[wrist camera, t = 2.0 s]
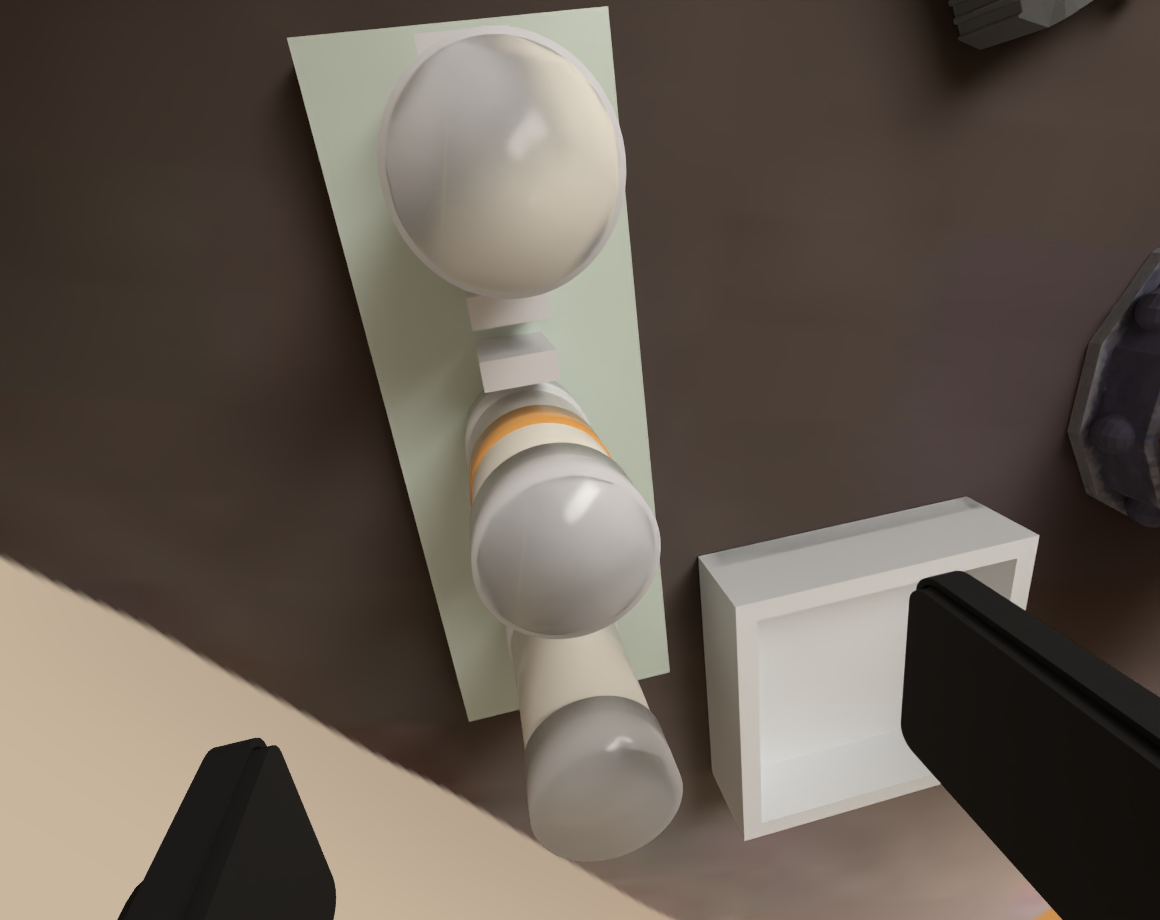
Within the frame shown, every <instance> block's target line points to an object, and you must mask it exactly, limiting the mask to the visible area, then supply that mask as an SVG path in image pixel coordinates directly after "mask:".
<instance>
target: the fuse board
mask: <svg viewBox="0 0 1160 920" xmlns="http://www.w3.org/2000/svg"><path fill="white" fill-rule="evenodd" d="M494 25H502V26H509V27H517V28H521V29H524V30H528V31H531V32H535V33H537V34H539V35H541V36H544V37H546V38H548V39H550V40H552V41H554V42H555V43H557V44H558V45H560V46H562V47H563V48H565V49H566V50H568V51H569V52H570V53H571V54H572V55H573V56H575V57H576V58H577V59H578V60H579V61H581V63H582V64H583V65H584V66H585V67H586V68H587V69H588V70H589V71H590V72H591V73H592V75H593V76H594V77H595V79H596V80H597V82H598V83H599V84H600V86H601V87H602V89H603V90H604V92H605V94H606V96H607V98H608V99H609V101H610V103H611V105H612V107H613V110H614V112H615V115H616V117H617V120H618V109H617V98H616V87H615V77H614V66H613V55H612V44H611V34H610V23H609V12H608V6H606V7H596V8H585V9H575V10H565V11H555V12H545V13H535V14H525V15H514V16H504V17H494V18H484V19H474V20H464V21H453V22H443V23H433V24H423V25H413V26H403V27H393V28H382V29H372V30H362V31H352V32H342V33H332V34H321V35H311V36H301V37H291V38H287V40H288V44H289V48H290V52H291V55H292V59H293V63H294V67H295V70H296V74H297V78H298V82H299V85H300V89H301V93H302V97H303V100H304V104H305V108H306V112H307V115H308V119H309V123H310V127H311V130H312V134H313V138H314V142H315V145H316V149H317V153H318V157H319V160H320V164H321V168H322V172H323V175H324V179H325V183H326V187H327V191H328V194H329V198H330V202H331V206H332V209H333V213H334V217H335V221H336V224H337V228H338V232H339V236H340V239H341V243H342V247H343V251H344V254H345V258H346V262H347V266H348V269H349V273H350V277H351V281H352V284H353V288H354V292H355V296H356V299H357V303H358V307H359V311H360V314H361V318H362V322H363V326H364V329H365V333H366V337H367V341H368V345H369V348H370V352H371V356H372V360H373V363H374V367H375V371H376V375H377V378H378V382H379V386H380V390H381V393H382V397H383V401H384V405H385V408H386V412H387V416H388V420H389V423H390V427H391V431H392V435H393V438H394V442H395V446H396V450H397V453H398V457H399V461H400V465H401V468H402V472H403V476H404V480H405V483H406V487H407V491H408V495H409V498H410V502H411V506H412V510H413V514H414V517H415V521H416V525H417V529H418V532H419V536H420V540H421V544H422V547H423V551H424V555H425V559H426V562H427V566H428V570H429V574H430V577H431V581H432V585H433V589H434V592H435V596H436V600H437V604H438V607H439V611H440V615H441V619H442V622H443V626H444V630H445V634H446V637H447V641H448V645H449V649H450V652H451V656H452V660H453V664H454V668H455V671H456V675H457V679H458V683H459V686H460V690H461V694H462V698H463V701H464V705H465V709H466V713H467V716H468V720H469V722H471V721H475V720H479V719H483V718H487V717H491V716H495V715H499V714H503V713H507V712H511V711H515V710H519V702H518V695H517V687H516V680H515V673H514V665H513V663H512V661H511V659H510V655H509V651H508V643H507V636H506V628H505V624H503V623H502V622H501V621H499V620H498V619H497V618H496V617H495V616H494V615H493V614H492V613H491V612H490V611H489V610H488V609H487V607H486V606H485V605H484V603H483V602H482V600H481V598H480V596H479V594H478V592H477V590H476V587H475V584H474V581H473V575H472V566H471V547H470V515H471V509H472V508H471V501H470V489H469V468H468V464H467V460H466V452H465V423H466V418H467V415H468V412H469V410H470V408H471V406H472V404H473V402H474V401H475V399H476V398H477V397H478V396H479V394H480V393H481V392H482V391H485V393H488V392H494V391H499V390H505V389H511V388H516V387H522V386H527V385H533V384H539V383H544V382H550V381H555V382H557V383H559V384H560V385H561V386H563V387H564V388H565V389H566V390H567V391H568V392H569V393H570V394H571V395H572V396H573V398H574V399H575V401H576V402H577V403H578V405H579V406H580V408H581V409H582V411H583V412H584V414H585V415H586V417H587V419H588V421H589V423H590V426H591V427H592V429H593V430H594V431H595V433H596V434H597V436H598V437H599V439H600V440H601V442H602V443H603V445H604V446H605V447H606V449H607V450H608V452H609V454H610V456H611V457H612V459H613V460H614V461H615V462H616V463H617V464H618V465H619V466H620V467H621V468H622V469H623V470H624V472H625V473H626V475H627V476H628V477H629V479H630V480H631V482H632V483H633V485H634V486H635V487H636V489H637V490H638V492H639V493H640V495H641V496H642V498H643V499H644V500H645V502H646V503H647V505H648V506H649V508H650V509H651V511H652V513H653V515H654V517H655V507H654V496H653V485H652V475H651V464H650V453H649V442H648V432H647V421H646V410H645V399H644V389H643V378H642V367H641V356H640V346H639V335H638V324H637V313H636V302H635V292H634V281H633V270H632V259H631V249H630V238H629V227H628V216H627V206H626V195H625V193H624V198H623V203H622V207H621V211H620V214H619V217H618V220H617V223H616V225H615V227H614V229H613V231H612V234H611V236H610V238H609V239H608V241H607V243H606V244H605V246H604V247H603V249H602V251H601V252H600V253H599V254H598V256H597V257H596V258H595V259H594V261H593V262H592V263H591V264H590V265H589V266H588V267H587V268H586V269H585V270H584V271H582V272H581V273H580V274H579V275H578V276H576V277H575V278H573V279H572V280H571V281H569V282H568V283H566V284H564V285H562V286H560V287H559V288H557V289H555V290H552V291H549V292H547V293H544V294H541V295H537V296H533V297H528V298H520V299H497V298H491V297H485V296H481V295H477V294H474V293H471V292H468V291H465V290H463V289H461V288H459V287H457V286H455V285H453V284H451V283H449V282H448V281H446V280H445V279H443V278H441V277H440V276H438V275H437V274H436V273H435V272H433V271H432V270H431V269H430V268H428V267H427V266H426V265H425V264H424V263H423V262H422V261H421V260H420V259H419V258H418V257H417V256H416V255H415V254H414V253H413V251H412V250H411V249H410V247H409V246H408V245H407V243H406V242H405V241H404V239H403V238H402V236H401V234H400V233H399V231H398V229H397V227H396V226H395V224H394V222H393V220H392V217H391V215H390V213H389V210H388V208H387V206H386V202H385V199H384V195H383V192H382V189H381V183H380V177H379V171H378V139H379V131H380V126H381V121H382V116H383V113H384V110H385V107H386V104H387V101H388V99H389V96H390V94H391V92H392V91H393V89H394V87H395V85H396V83H397V81H398V80H399V78H400V77H401V75H402V74H403V73H404V71H405V70H406V68H407V67H408V66H409V65H410V64H411V63H412V62H413V61H414V60H415V58H416V57H417V56H418V55H419V54H420V53H422V52H423V51H424V50H426V49H427V48H428V47H430V46H431V45H432V44H433V43H435V42H437V41H439V40H441V39H442V38H444V37H446V36H448V35H450V34H453V33H456V32H458V31H461V30H464V29H468V28H473V27H479V26H494ZM618 123H619V120H618ZM655 519H656V518H655ZM617 624H618V633H619V635H620V638H621V640H622V643H623V645H624V648H625V650H626V653H627V655H628V657H629V660H630V662H631V665H632V667H633V670H634V672H635V675H636V677H637V680H640V679H644V678H648V677H652V676H656V675H660V674H664V673H668V672H670V668H669V657H668V647H667V636H666V625H665V614H664V604H663V593H662V582H661V571H660V561H659V564H658V568H657V571H656V574H655V576H654V579H653V581H652V583H651V585H650V587H649V588H648V590H647V592H646V593H645V594H644V596H643V597H642V599H641V600H640V601H639V602H638V603H637V604H636V605H635V606H634V608H633V609H632V610H630V611H629V612H628V613H627V614H626V615H625V616H623V617H622V618H620V619H619V620H618V621H617Z"/></svg>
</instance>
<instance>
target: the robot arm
mask: <svg viewBox="0 0 1160 920" xmlns="http://www.w3.org/2000/svg"><path fill="white" fill-rule="evenodd" d="M901 730H902V734H903V737H904V739H905V741H906V743H907V745H908V747H909V748H910V749H911V751H912V752H913V753H914V754H915V755H916V756H917V757H918V759H919V760H920V761H921V762H922V763H923V764H924V765H925V766H926V768H927V769H928V770H929V771H930V772H931V773H932V774H933V775H934V776H935V778H936V779H937V780H938V781H939V782H940V783H941V784H942V785H943V787H944V788H945V789H946V790H947V791H948V792H949V793H950V794H951V795H952V797H953V798H954V799H955V800H956V801H957V802H958V803H959V804H960V806H961V807H962V808H963V809H964V810H965V811H966V812H967V813H968V814H969V816H970V817H971V818H972V819H973V820H974V821H975V822H976V823H977V825H978V826H979V827H980V828H981V829H982V830H983V831H984V832H985V834H986V835H987V836H988V837H989V838H990V839H991V840H992V841H993V842H994V844H995V845H996V846H997V847H998V848H999V849H1000V850H1001V851H1002V853H1003V854H1004V855H1005V856H1006V857H1007V858H1008V859H1009V860H1010V861H1011V863H1012V864H1013V865H1014V866H1015V867H1016V868H1017V869H1018V870H1019V872H1020V873H1021V874H1022V875H1023V876H1024V877H1025V878H1026V879H1027V881H1028V882H1029V883H1030V884H1031V885H1032V886H1033V887H1034V888H1035V889H1036V891H1037V892H1038V893H1039V894H1040V895H1041V896H1042V897H1043V898H1044V900H1045V901H1046V902H1047V903H1048V904H1049V905H1050V906H1051V907H1052V908H1053V910H1054V911H1055V912H1056V913H1057V914H1058V915H1059V916H1060V917H1061V918H1062V920H1160V697H1158V696H1157V695H1155V694H1153V693H1152V692H1150V691H1149V690H1147V689H1146V688H1144V687H1143V686H1141V685H1140V684H1138V683H1136V682H1135V681H1133V680H1132V679H1130V678H1129V677H1127V676H1126V675H1124V674H1123V673H1121V672H1119V671H1118V670H1116V669H1115V668H1113V667H1112V666H1110V665H1109V664H1107V663H1106V662H1104V661H1102V660H1101V659H1099V658H1098V657H1096V656H1095V655H1093V654H1092V653H1090V652H1089V651H1087V650H1085V649H1084V648H1082V647H1081V646H1079V645H1078V644H1076V643H1075V642H1073V641H1072V640H1070V639H1068V638H1067V637H1065V636H1064V635H1062V634H1061V633H1059V632H1058V631H1056V630H1055V629H1053V628H1051V627H1050V626H1048V625H1047V624H1045V623H1044V622H1042V621H1041V620H1039V619H1038V618H1036V617H1034V616H1033V615H1031V614H1030V613H1028V612H1027V611H1025V610H1024V609H1022V608H1020V607H1019V606H1017V605H1016V604H1014V603H1013V602H1011V601H1010V600H1008V599H1007V598H1005V597H1003V596H1002V595H1000V594H999V593H997V592H996V591H994V590H993V589H991V588H990V587H988V586H986V585H985V584H983V583H982V582H980V581H979V580H977V579H976V578H974V577H973V576H971V575H969V574H967V573H965V572H963V571H952V572H948V573H944V574H940V575H935V576H931V577H927V578H924V579H922V580H920V581H919V583H918V584H917V587H916V591H913V592H912V593H911V595H910V598H909V610H908V624H907V639H906V653H905V667H904V682H903V696H902V711H901ZM335 906H336V889H335V884H334V879H333V876H332V874H331V872H330V869H329V867H328V864H327V862H326V859H325V857H324V855H323V852H322V850H321V847H320V845H319V842H318V840H317V838H316V835H315V833H314V830H313V828H312V825H311V823H310V821H309V818H308V816H307V813H306V811H305V809H304V806H303V803H302V801H301V799H300V796H299V794H298V791H297V789H296V786H295V784H294V782H293V779H292V777H291V774H290V772H289V769H288V767H287V765H286V762H285V760H284V757H283V755H282V753H281V751H280V749H279V748H278V747H277V746H276V745H274V746H268V747H267V746H266V744H265V742H264V741H263V740H262V739H261V738H253V739H249V740H245V741H240V742H236V743H232V744H228V745H224V746H220V747H215V748H213V749H211V750H210V751H208V753H207V754H206V756H205V758H204V759H203V761H202V763H201V765H200V767H199V769H198V771H197V773H196V775H195V777H194V779H193V781H192V783H191V785H190V787H189V789H188V791H187V793H186V795H185V797H184V799H183V801H182V803H181V805H180V807H179V809H178V812H177V813H176V815H175V817H174V819H173V822H172V823H171V825H170V827H169V829H168V832H167V834H166V836H165V838H164V840H163V842H162V844H161V846H160V848H159V850H158V852H157V854H156V856H155V858H154V860H153V862H152V864H151V866H150V868H149V870H148V872H147V874H146V876H145V878H144V880H143V881H142V882H141V883H140V884H139V885H138V886H137V887H136V888H135V889H134V891H133V893H132V894H131V896H130V897H129V899H128V900H127V902H126V904H125V906H124V908H123V910H122V912H121V914H120V916H119V918H118V920H333V919H334V913H335Z"/></svg>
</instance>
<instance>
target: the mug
mask: <svg viewBox="0 0 1160 920" xmlns="http://www.w3.org/2000/svg"><path fill="white" fill-rule="evenodd" d="M1067 432H1068V435H1069V438H1070V442H1071V445H1072V448H1073V452H1074V455H1075V458H1076V461H1077V465H1078V468H1079V471H1080V475H1081V478H1082V481H1083V484H1084V488H1085V491H1086V494H1087V495H1089V496H1091V497H1093V498H1095V499H1097V500H1099V501H1100V502H1102V503H1104V504H1106V505H1108V506H1110V507H1112V508H1114V509H1116V510H1117V511H1119V512H1121V513H1123V514H1125V515H1127V516H1129V517H1130V518H1131V519H1133V520H1134V521H1136V522H1138V523H1140V524H1141V525H1143V526H1147V527H1150V528H1158V527H1160V247H1159V248H1157V249H1156V250H1154V251H1153V252H1151V254H1150V255H1149V257H1148V258H1147V259H1146V261H1145V262H1144V264H1143V265H1142V267H1141V268H1140V270H1139V271H1138V272H1137V274H1136V275H1135V277H1134V278H1133V280H1132V281H1131V283H1130V284H1129V285H1128V287H1127V288H1126V290H1125V291H1124V293H1123V294H1122V295H1121V297H1120V298H1119V300H1118V301H1117V303H1116V304H1115V306H1114V307H1113V308H1112V310H1111V311H1110V313H1109V314H1108V316H1107V317H1106V318H1105V320H1104V321H1103V323H1102V324H1101V326H1100V327H1099V329H1098V330H1097V331H1096V333H1095V334H1094V336H1093V337H1092V339H1091V340H1090V341H1089V344H1088V348H1087V352H1086V356H1085V360H1084V364H1083V369H1082V373H1081V377H1080V381H1079V385H1078V389H1077V393H1076V397H1075V401H1074V405H1073V409H1072V413H1071V418H1070V422H1069V426H1068V430H1067Z"/></svg>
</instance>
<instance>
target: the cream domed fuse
mask: <svg viewBox="0 0 1160 920" xmlns="http://www.w3.org/2000/svg"><path fill="white" fill-rule="evenodd" d="M378 171H379V177H380V183H381V189H382V192H383V195H384V199H385V202H386V206H387V208H388V210H389V213H390V215H391V217H392V220H393V222H394V224H395V226H396V227H397V229H398V231H399V233H400V234H401V236H402V238H403V239H404V241H405V242H406V243H407V245H408V246H409V247H410V249H411V250H412V251H413V253H414V254H415V255H416V256H417V257H418V258H419V259H420V260H421V261H422V262H423V263H424V264H425V265H426V266H427V267H428V268H430V269H431V270H432V271H433V272H435V273H436V274H437V275H438V276H440V277H441V278H443V279H445V280H446V281H448V282H449V283H451V284H453V285H455V286H457V287H459V288H461V289H463V290H465V291H468V292H471V293H474V294H477V295H481V296H485V297H491V298H497V299H520V298H528V297H533V296H537V295H541V294H544V293H547V292H549V291H552V290H555V289H557V288H559V287H560V286H562V285H564V284H566V283H568V282H569V281H571V280H572V279H573V278H575V277H576V276H578V275H579V274H580V273H581V272H582V271H584V270H585V269H586V268H587V267H588V266H589V265H590V264H591V263H592V262H593V261H594V259H595V258H596V257H597V256H598V254H599V253H600V252H601V251H602V249H603V247H604V246H605V244H606V243H607V241H608V239H609V238H610V236H611V234H612V231H613V229H614V227H615V225H616V223H617V220H618V217H619V214H620V211H621V207H622V203H623V198H624V193H625V182H626V156H625V149H624V143H623V137H622V134H621V130H620V126H619V123H618V120H617V117H616V115H615V112H614V110H613V107H612V105H611V103H610V101H609V99H608V98H607V96H606V94H605V92H604V90H603V89H602V87H601V86H600V84H599V83H598V82H597V80H596V79H595V77H594V76H593V75H592V73H591V72H590V71H589V70H588V69H587V68H586V67H585V66H584V65H583V64H582V63H581V61H579V60H578V59H577V58H576V57H575V56H573V55H572V54H571V53H570V52H569V51H568V50H566V49H565V48H563V47H562V46H560V45H558V44H557V43H555V42H554V41H552V40H550V39H548V38H546V37H544V36H541V35H539V34H537V33H535V32H531V31H528V30H524V29H521V28H517V27H509V26H502V25H494V26H479V27H473V28H468V29H464V30H461V31H458V32H456V33H453V34H450V35H448V36H446V37H444V38H442V39H441V40H439V41H437V42H435V43H433V44H432V45H431V46H430V47H428V48H427V49H426V50H424V51H423V52H422V53H420V54H419V55H418V56H417V57H416V58H415V60H414V61H413V62H412V63H411V64H410V65H409V66H408V67H407V68H406V70H405V71H404V73H403V74H402V75H401V77H400V78H399V80H398V81H397V83H396V85H395V87H394V89H393V91H392V92H391V94H390V96H389V99H388V101H387V104H386V107H385V110H384V113H383V116H382V121H381V126H380V131H379V139H378Z"/></svg>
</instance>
